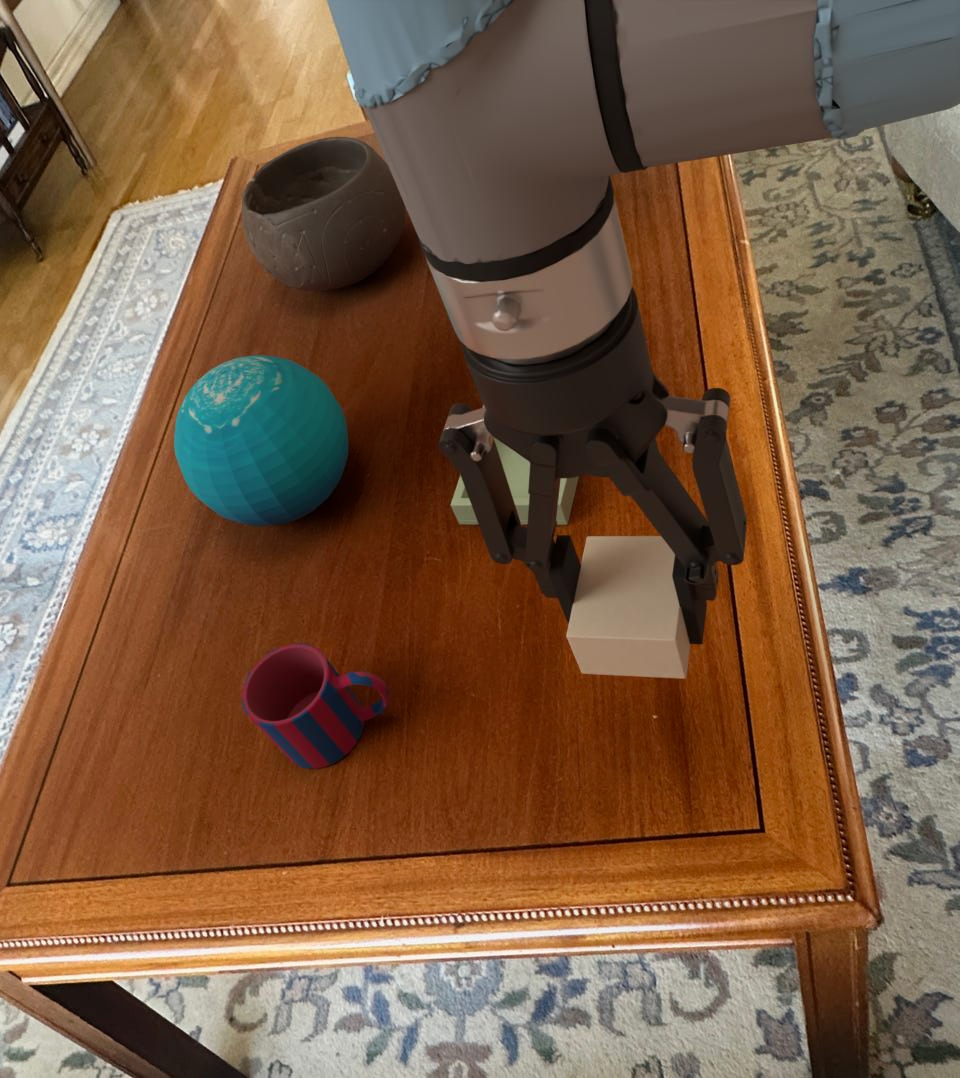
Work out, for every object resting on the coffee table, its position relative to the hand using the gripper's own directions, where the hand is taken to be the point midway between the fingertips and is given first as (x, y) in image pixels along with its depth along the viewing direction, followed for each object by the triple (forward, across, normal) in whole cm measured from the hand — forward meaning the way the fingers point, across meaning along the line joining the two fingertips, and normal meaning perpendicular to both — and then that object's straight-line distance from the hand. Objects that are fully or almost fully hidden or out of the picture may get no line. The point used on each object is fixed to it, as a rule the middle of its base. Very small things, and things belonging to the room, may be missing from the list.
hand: (639, 622), depth 57 cm
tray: (+12, -15, +27) cm, 33 cm away
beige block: (0, 0, 0) cm, 0 cm away
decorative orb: (+13, -37, +21) cm, 44 cm away
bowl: (+12, -44, +56) cm, 72 cm away
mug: (+13, -24, -2) cm, 28 cm away
